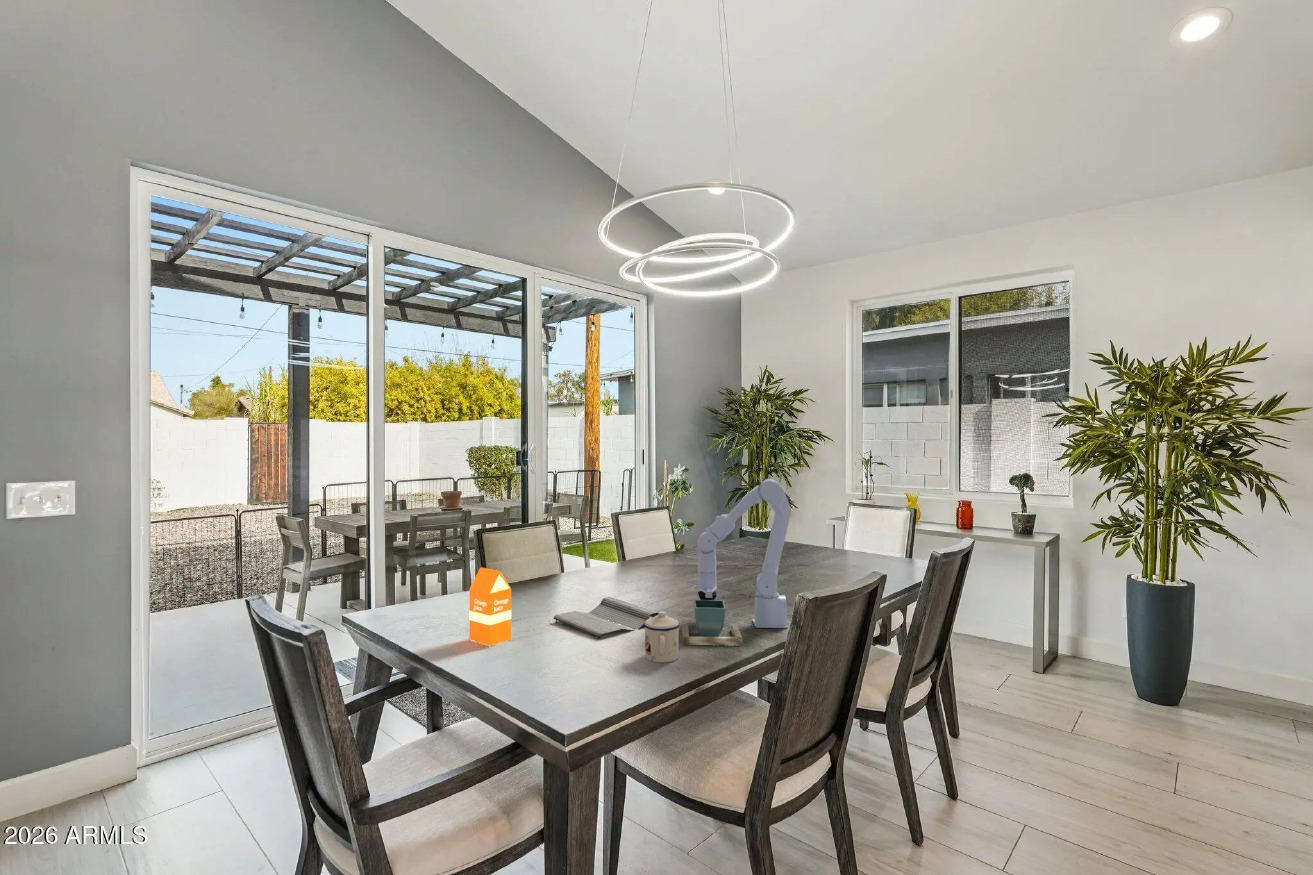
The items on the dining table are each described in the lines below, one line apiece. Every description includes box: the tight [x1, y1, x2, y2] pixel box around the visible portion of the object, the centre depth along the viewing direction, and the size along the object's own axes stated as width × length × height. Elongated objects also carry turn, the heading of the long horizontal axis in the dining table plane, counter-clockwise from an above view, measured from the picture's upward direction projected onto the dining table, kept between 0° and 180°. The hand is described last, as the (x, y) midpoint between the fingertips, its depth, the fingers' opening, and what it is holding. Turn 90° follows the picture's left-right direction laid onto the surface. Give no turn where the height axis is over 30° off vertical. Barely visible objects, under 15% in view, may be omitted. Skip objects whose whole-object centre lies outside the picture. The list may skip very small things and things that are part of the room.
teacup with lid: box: [643, 611, 680, 664], centre depth 159 cm, size 12×9×12 cm
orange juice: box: [468, 567, 512, 645], centre depth 173 cm, size 8×9×20 cm
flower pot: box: [693, 599, 727, 637], centre depth 179 cm, size 9×9×9 cm
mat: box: [553, 596, 658, 640], centre depth 190 cm, size 23×24×5 cm
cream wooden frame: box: [681, 623, 743, 647], centre depth 176 cm, size 16×14×2 cm
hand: (707, 615), depth 191 cm, fingers closed
